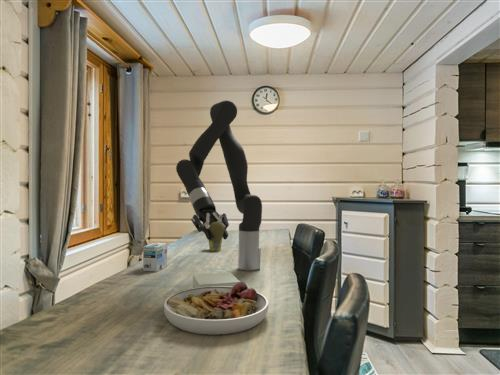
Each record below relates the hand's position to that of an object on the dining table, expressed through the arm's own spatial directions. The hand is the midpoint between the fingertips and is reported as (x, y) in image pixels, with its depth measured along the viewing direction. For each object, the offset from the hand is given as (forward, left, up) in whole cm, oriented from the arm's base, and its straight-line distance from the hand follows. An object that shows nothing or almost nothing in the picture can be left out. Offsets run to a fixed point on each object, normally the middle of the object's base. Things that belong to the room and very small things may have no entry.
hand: (218, 238), depth 129 cm
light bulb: (+1, -2, -4) cm, 5 cm away
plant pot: (-16, -77, -19) cm, 81 cm away
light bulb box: (+19, -42, -20) cm, 50 cm away
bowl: (+6, +21, -20) cm, 30 cm away
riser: (+1, -2, -19) cm, 19 cm away
